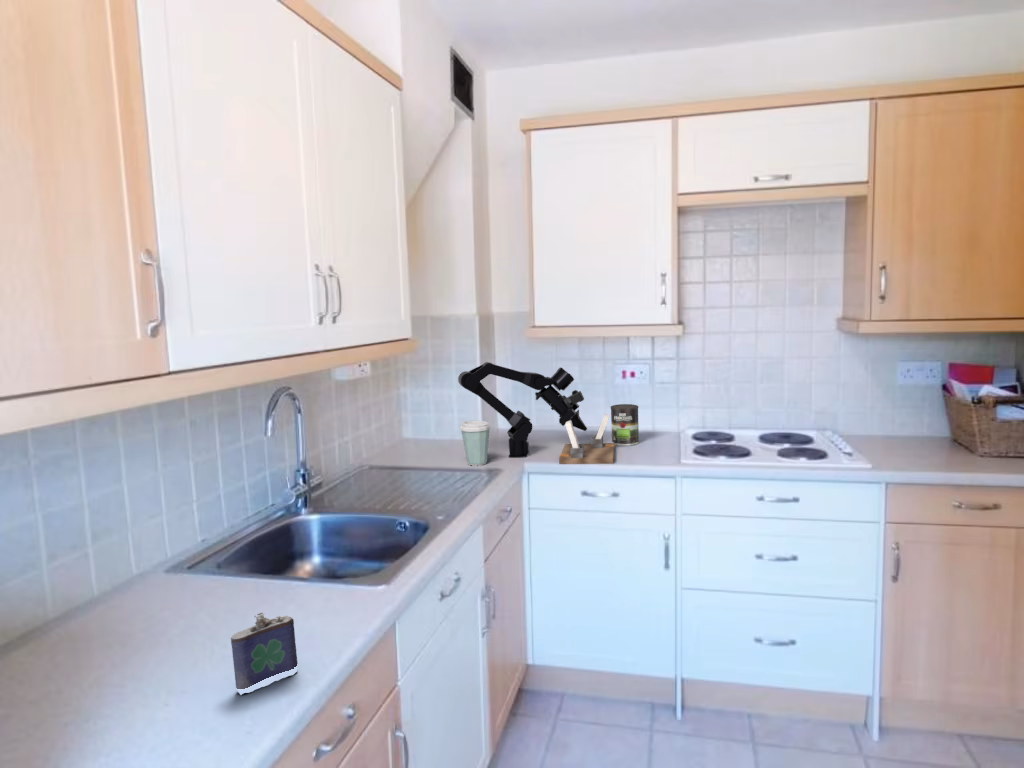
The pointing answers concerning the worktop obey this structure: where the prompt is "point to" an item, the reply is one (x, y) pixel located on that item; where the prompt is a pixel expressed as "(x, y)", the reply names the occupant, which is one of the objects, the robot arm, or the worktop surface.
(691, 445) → the worktop surface
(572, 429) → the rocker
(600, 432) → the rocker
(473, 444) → the disposable coffee cup
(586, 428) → the robot arm
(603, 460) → the switch board
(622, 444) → the coffee can
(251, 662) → the flask
